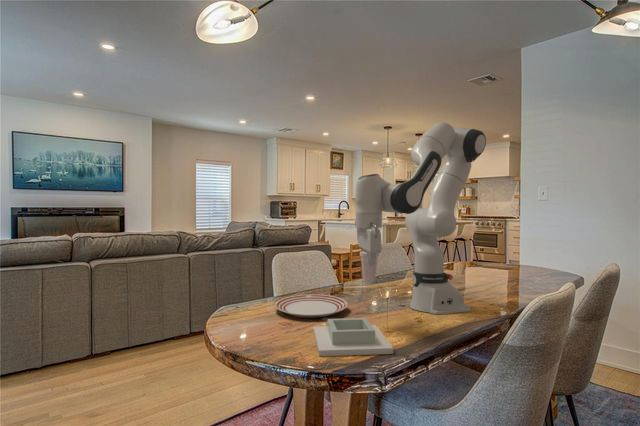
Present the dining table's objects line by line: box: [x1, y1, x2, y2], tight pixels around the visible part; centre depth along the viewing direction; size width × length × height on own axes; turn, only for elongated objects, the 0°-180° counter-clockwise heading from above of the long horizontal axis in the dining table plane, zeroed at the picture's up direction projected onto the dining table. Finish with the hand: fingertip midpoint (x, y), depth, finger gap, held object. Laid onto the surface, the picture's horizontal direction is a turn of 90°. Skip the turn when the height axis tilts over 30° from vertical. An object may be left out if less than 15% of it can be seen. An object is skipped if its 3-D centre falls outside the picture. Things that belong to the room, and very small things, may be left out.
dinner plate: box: [274, 293, 348, 319], centre depth 143 cm, size 28×27×3 cm
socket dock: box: [312, 317, 394, 357], centre depth 109 cm, size 20×20×5 cm
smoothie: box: [359, 250, 380, 283], centre depth 126 cm, size 6×6×14 cm
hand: (369, 263), depth 126 cm, fingers closed on smoothie, 6 cm apart
